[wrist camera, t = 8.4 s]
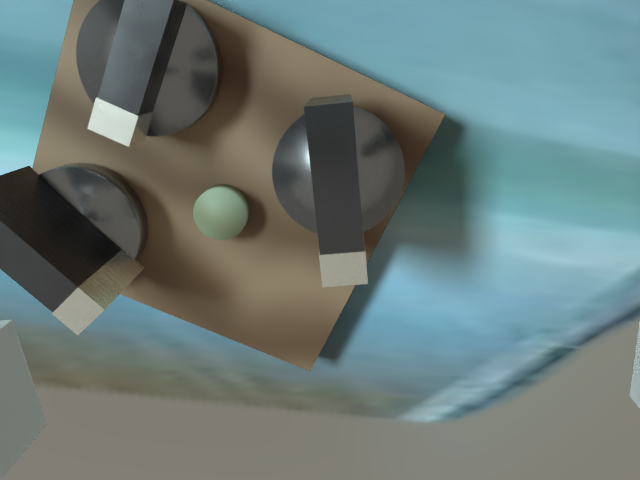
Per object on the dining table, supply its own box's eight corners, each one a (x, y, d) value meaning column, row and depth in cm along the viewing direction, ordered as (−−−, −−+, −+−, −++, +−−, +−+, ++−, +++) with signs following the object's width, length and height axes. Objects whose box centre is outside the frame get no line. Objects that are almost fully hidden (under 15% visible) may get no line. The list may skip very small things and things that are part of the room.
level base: (105, -49, 27) (75, -63, 24) (438, 110, 29) (449, 116, 26) (31, 239, 32) (-1, 257, 29) (311, 354, 34) (308, 382, 31)
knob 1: (0, 211, 29) (-91, 252, 23) (71, 130, 28) (-7, 150, 21) (106, 303, 31) (48, 363, 25) (179, 232, 29) (136, 278, 23)
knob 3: (266, 100, 27) (243, 112, 20) (398, 86, 26) (415, 95, 20) (285, 242, 29) (269, 291, 23) (404, 232, 29) (422, 279, 23)
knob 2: (110, -34, 25) (75, -49, 21) (242, 28, 25) (226, 23, 22) (75, 101, 27) (37, 106, 24) (196, 154, 28) (176, 167, 24)
